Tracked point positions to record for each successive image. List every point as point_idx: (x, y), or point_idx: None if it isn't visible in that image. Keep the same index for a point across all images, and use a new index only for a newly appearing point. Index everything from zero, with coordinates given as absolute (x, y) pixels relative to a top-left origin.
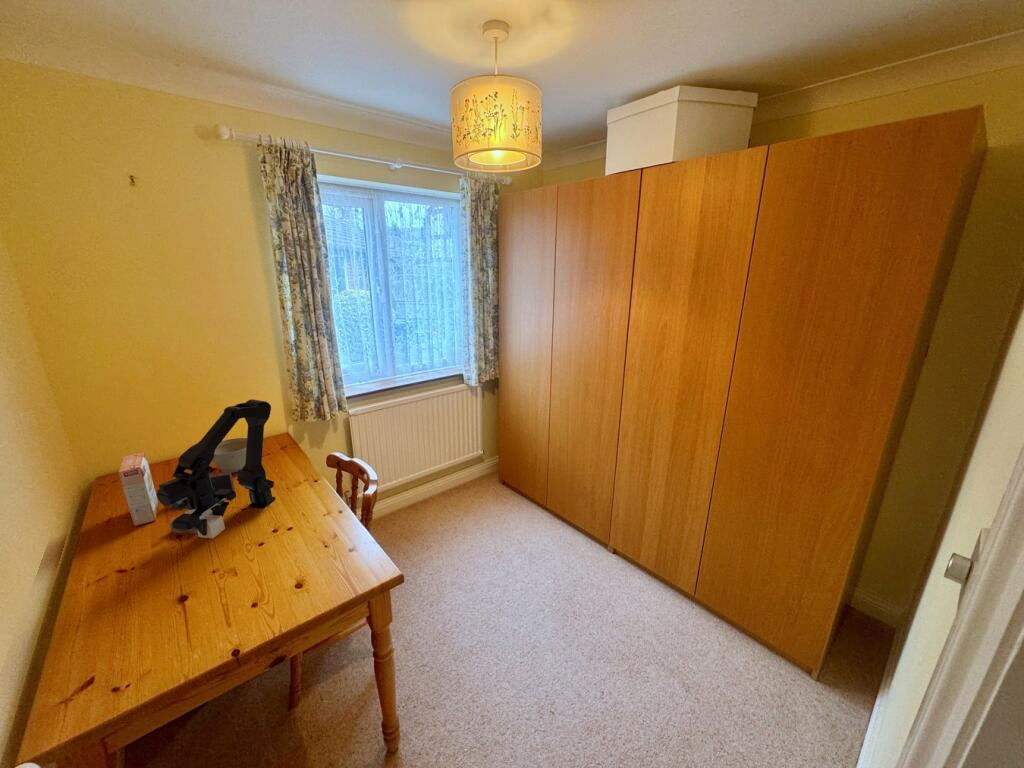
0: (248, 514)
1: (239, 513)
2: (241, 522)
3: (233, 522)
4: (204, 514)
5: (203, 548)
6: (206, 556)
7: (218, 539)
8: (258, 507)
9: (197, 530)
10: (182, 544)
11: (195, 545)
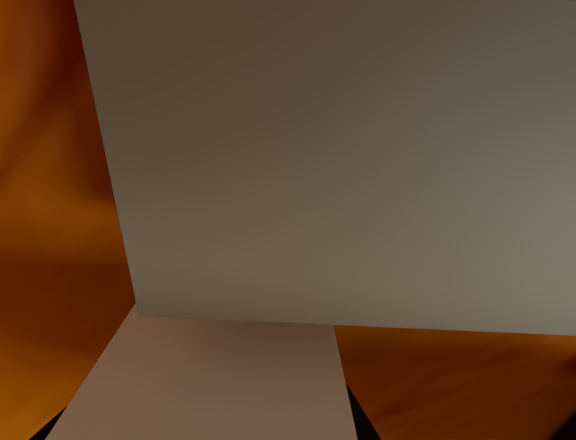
0: (483, 414)
1: (524, 360)
2: (379, 423)
3: (387, 384)
4: (507, 256)
5: (54, 382)
6: (4, 435)
7: None
8: (562, 435)
9: (114, 340)
10: (3, 185)
11: (53, 313)
